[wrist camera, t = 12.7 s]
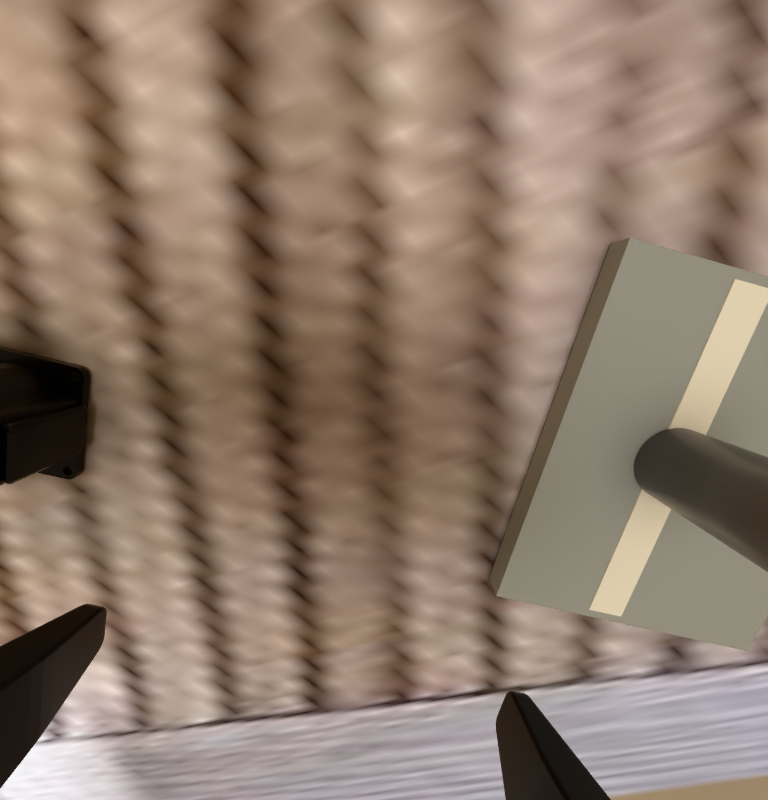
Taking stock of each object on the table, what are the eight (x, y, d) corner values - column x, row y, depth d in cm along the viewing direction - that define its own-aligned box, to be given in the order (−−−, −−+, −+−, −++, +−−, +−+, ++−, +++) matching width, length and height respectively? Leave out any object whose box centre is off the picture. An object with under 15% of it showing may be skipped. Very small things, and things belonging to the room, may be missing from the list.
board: (488, 577, 22) (496, 597, 21) (610, 244, 18) (631, 237, 17) (724, 629, 23) (749, 652, 22) (891, 323, 19) (936, 324, 18)
